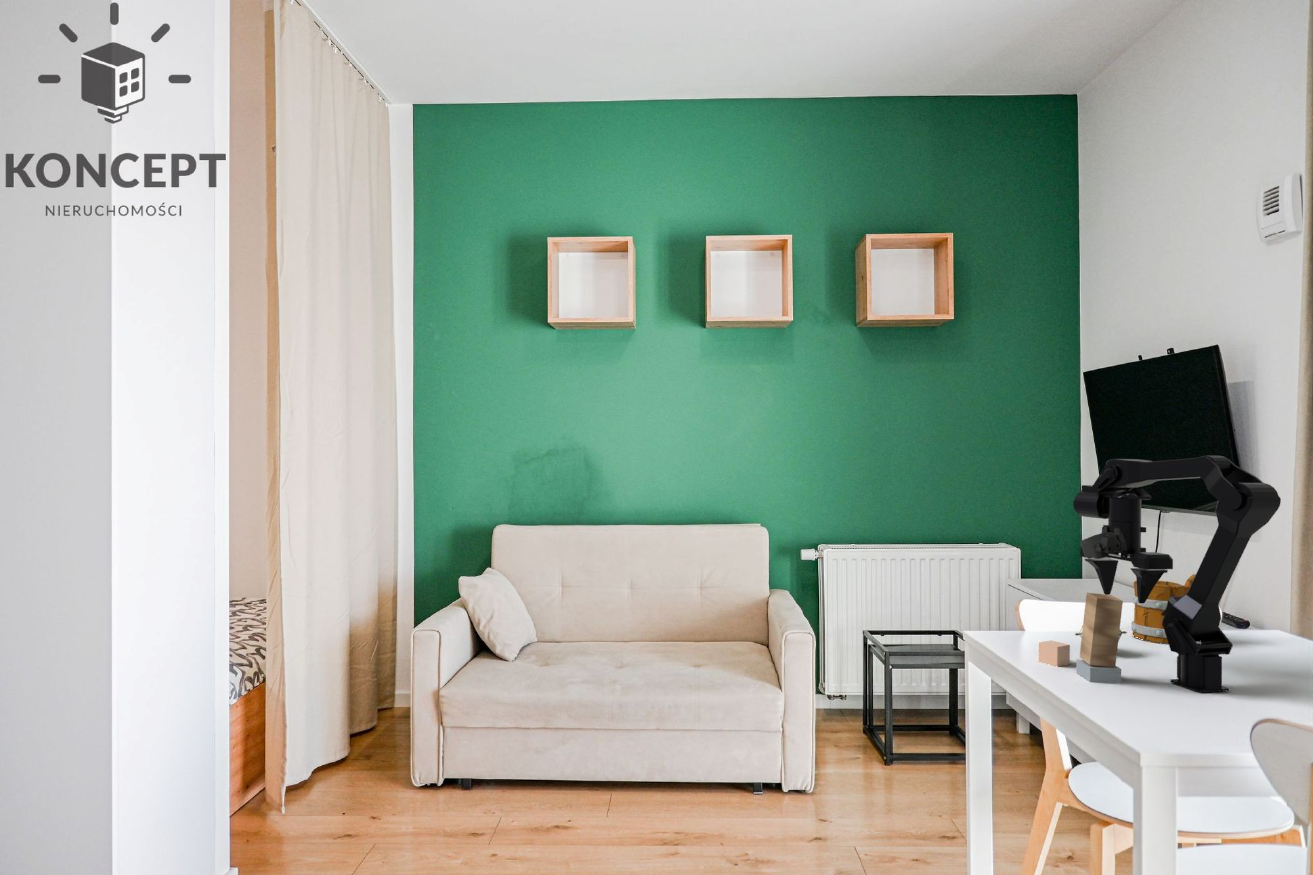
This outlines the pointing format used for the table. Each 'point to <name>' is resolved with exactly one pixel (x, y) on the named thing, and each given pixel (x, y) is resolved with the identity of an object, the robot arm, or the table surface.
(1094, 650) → the walnut block
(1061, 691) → the table surface
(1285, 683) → the table surface
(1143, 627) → the mug
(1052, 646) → the clay block
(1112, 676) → the slate block
